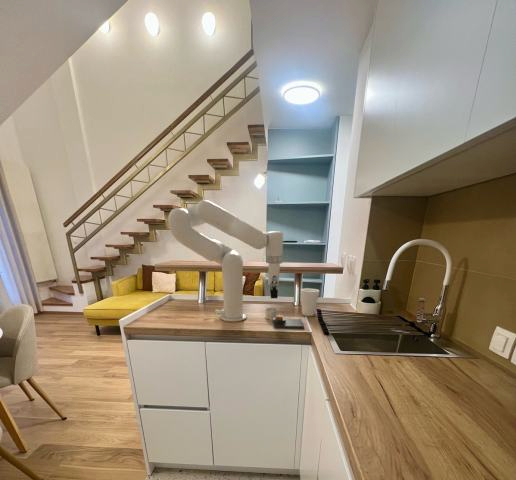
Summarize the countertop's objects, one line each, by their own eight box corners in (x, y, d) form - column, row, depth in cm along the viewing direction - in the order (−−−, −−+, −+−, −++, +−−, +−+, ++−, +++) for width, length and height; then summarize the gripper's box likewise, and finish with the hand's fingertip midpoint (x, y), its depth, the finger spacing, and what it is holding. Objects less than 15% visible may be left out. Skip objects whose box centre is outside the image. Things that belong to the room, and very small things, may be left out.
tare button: (275, 320, 129) (276, 316, 129) (275, 318, 132) (275, 314, 132) (282, 320, 129) (282, 317, 129) (282, 318, 132) (282, 315, 132)
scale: (272, 328, 127) (273, 322, 126) (272, 321, 137) (272, 315, 136) (303, 329, 127) (304, 322, 126) (300, 321, 137) (301, 315, 136)
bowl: (265, 320, 139) (265, 311, 137) (265, 316, 145) (265, 307, 143) (278, 320, 138) (279, 311, 137) (278, 316, 145) (278, 307, 143)
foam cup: (316, 312, 153) (318, 288, 148) (317, 317, 145) (320, 292, 140) (298, 311, 154) (300, 288, 149) (299, 316, 145) (301, 291, 140)
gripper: (266, 258, 139) (266, 292, 145) (266, 261, 123) (266, 300, 129) (281, 258, 139) (280, 292, 145) (283, 261, 123) (282, 300, 129)
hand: (273, 295), depth 137 cm, fingers open, 9 cm apart
